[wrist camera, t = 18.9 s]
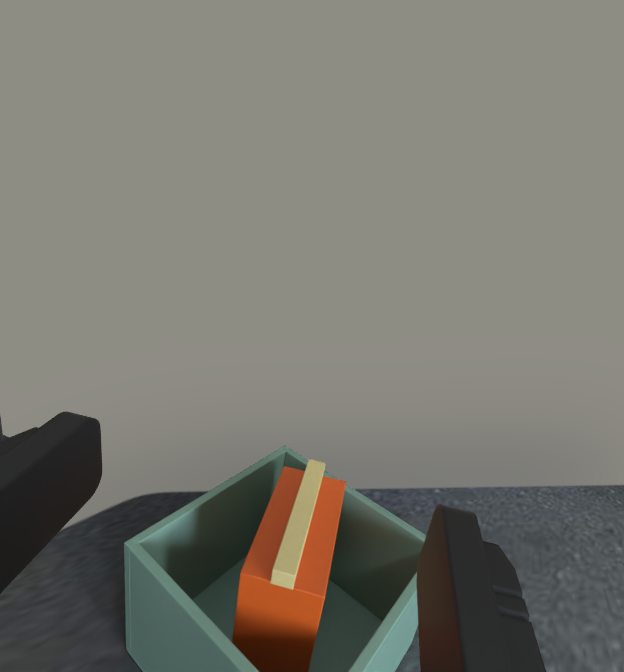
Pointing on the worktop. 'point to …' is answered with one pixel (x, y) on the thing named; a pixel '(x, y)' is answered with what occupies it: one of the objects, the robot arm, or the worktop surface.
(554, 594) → the worktop surface
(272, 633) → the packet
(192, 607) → the bin
